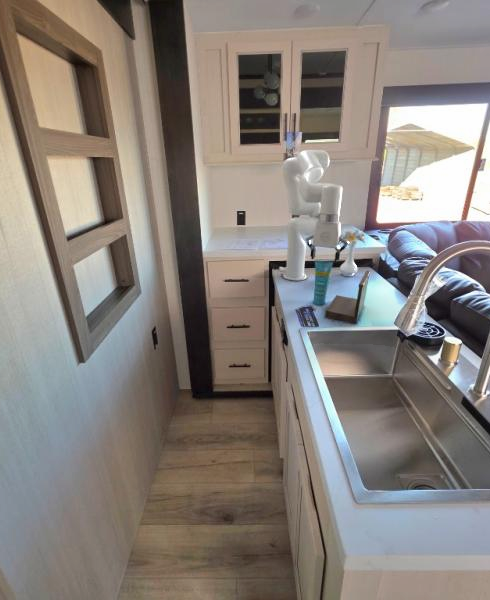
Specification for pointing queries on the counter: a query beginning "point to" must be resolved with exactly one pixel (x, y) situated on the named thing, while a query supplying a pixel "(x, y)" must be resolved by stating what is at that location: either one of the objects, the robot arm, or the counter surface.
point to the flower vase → (350, 251)
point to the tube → (321, 280)
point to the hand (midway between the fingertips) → (324, 260)
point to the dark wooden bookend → (349, 304)
